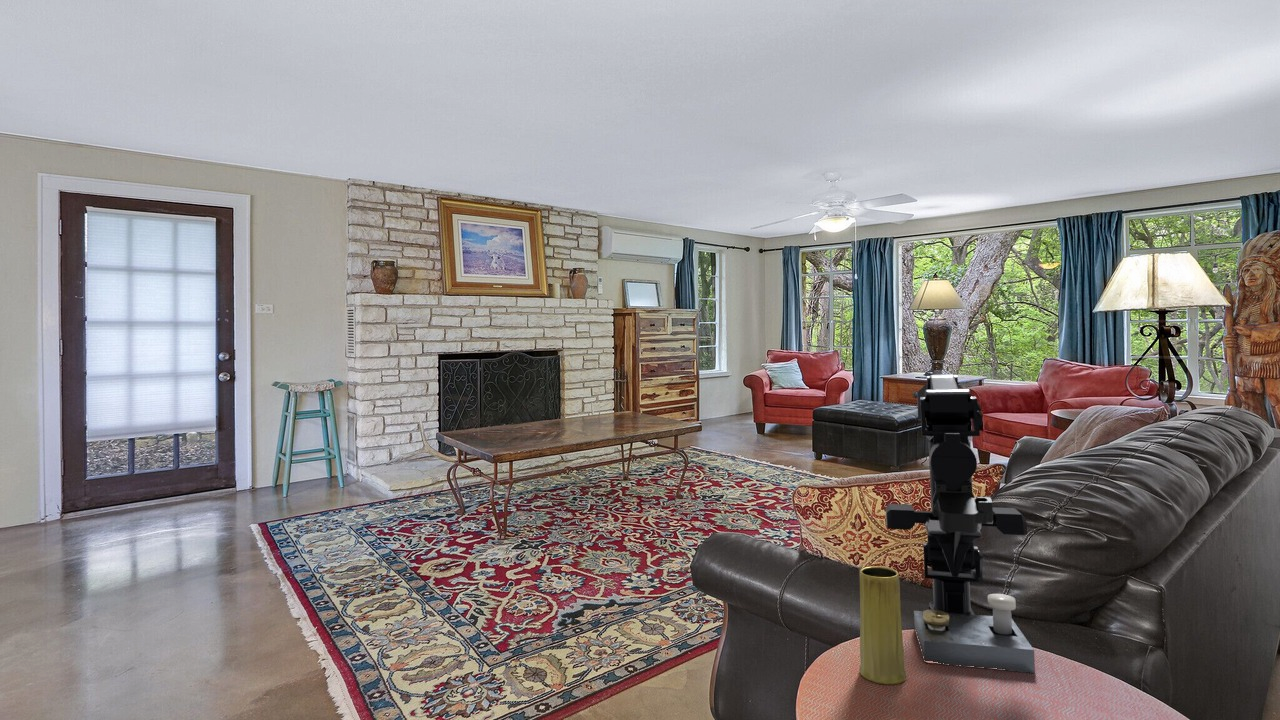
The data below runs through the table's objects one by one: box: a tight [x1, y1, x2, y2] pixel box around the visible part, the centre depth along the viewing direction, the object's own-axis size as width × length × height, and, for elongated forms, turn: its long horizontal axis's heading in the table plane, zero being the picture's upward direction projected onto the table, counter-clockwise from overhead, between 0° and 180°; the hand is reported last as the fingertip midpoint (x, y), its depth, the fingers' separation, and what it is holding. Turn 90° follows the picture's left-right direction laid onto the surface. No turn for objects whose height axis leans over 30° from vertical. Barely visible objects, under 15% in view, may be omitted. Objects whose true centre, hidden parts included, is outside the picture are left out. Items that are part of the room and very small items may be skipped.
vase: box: [859, 565, 907, 686], centre depth 90 cm, size 6×6×14 cm
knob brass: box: [922, 609, 949, 631], centre depth 98 cm, size 4×4×5 cm
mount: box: [913, 610, 1036, 674], centre depth 96 cm, size 12×14×3 cm
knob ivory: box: [987, 593, 1017, 635], centre depth 95 cm, size 4×4×5 cm
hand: (954, 576), depth 97 cm, fingers closed
